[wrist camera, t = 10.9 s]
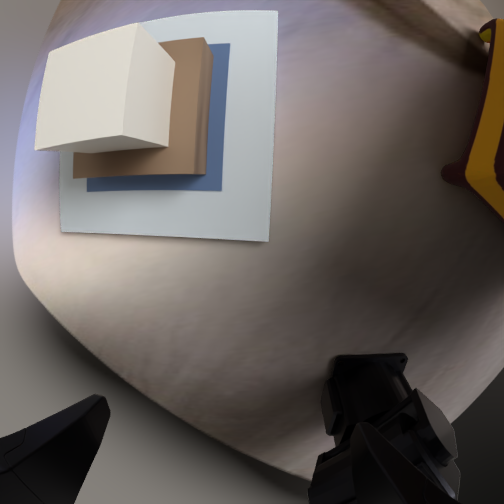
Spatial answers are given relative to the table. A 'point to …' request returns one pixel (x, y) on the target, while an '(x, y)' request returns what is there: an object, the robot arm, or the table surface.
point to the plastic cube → (106, 94)
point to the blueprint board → (240, 146)
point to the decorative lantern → (486, 131)
